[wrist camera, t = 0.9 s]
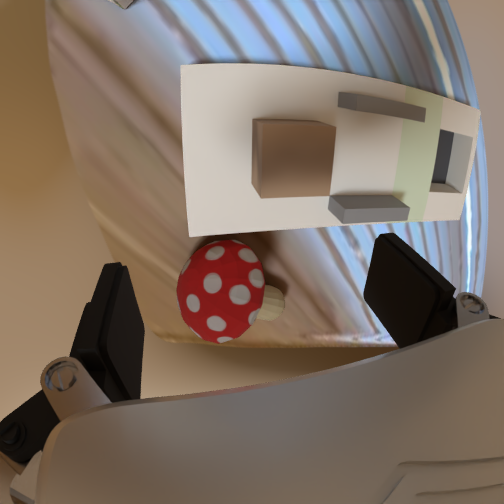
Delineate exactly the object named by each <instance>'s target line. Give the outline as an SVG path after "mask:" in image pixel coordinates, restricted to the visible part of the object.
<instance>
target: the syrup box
mask: <svg viewBox="0 0 504 504" xmlns="http://www.w3.org/2000/svg"><path fill="white" fill-rule="evenodd" d="M109 1H110V2H112V3H114V4H116V5H117V6H119V7H121V8H122V9H126V8H127V7H128V6H129V5H130V3H131V2H132V1H133V0H109Z"/></svg>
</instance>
